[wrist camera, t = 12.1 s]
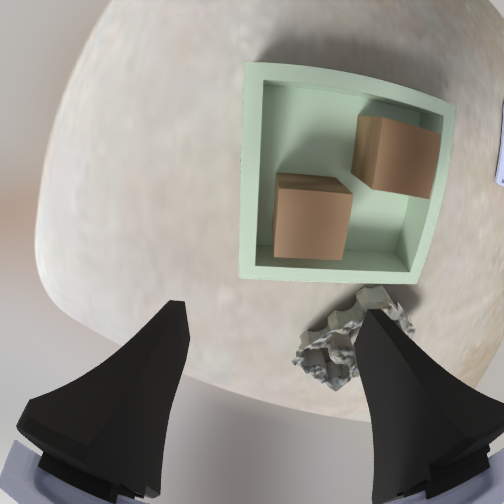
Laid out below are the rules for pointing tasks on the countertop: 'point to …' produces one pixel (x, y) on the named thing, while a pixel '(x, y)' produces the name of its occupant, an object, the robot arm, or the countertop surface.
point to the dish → (333, 171)
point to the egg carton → (345, 338)
